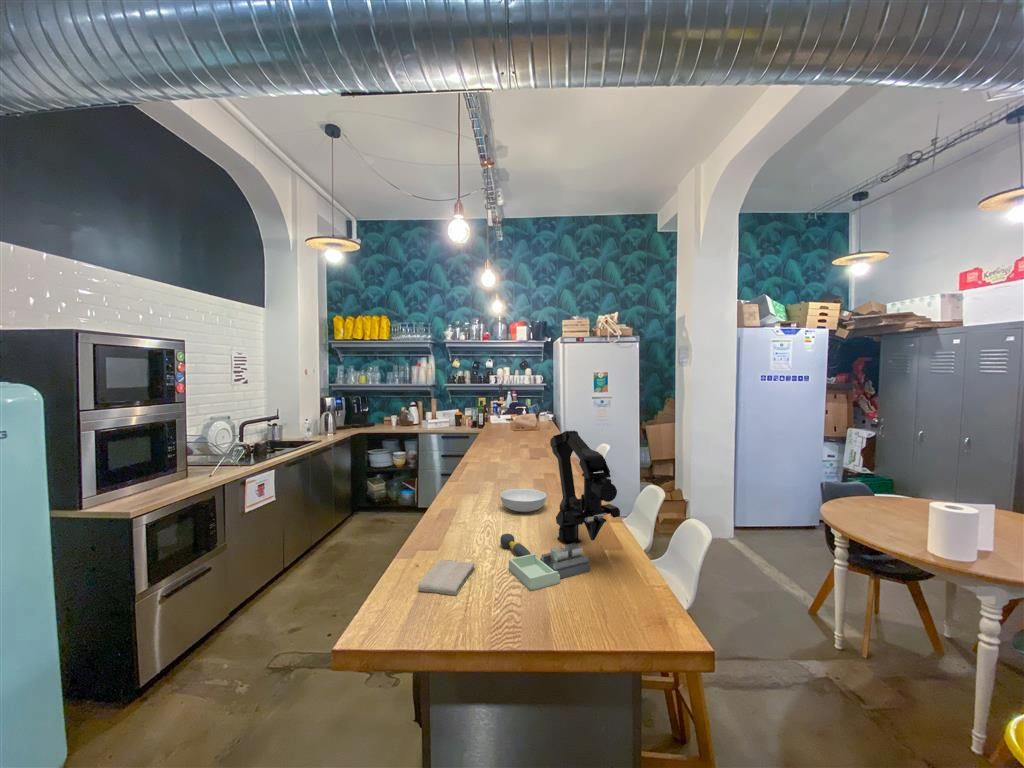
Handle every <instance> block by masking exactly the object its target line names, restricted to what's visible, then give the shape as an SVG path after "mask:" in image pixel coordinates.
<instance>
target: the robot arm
mask: <svg viewBox="0 0 1024 768" xmlns="http://www.w3.org/2000/svg"><path fill="white" fill-rule="evenodd" d="M550 447H551V450H552V453H553V455H554V456H555V457H556V459H557V461H558V462H557V464H558V471H559V478H560V479H559V480H560V486H561V493H562V499H561V501H560V504H559V511H558V513H557V515H556V516H555V521H556V524H557V525H558V526H559V528H558V537H557V540H559V541H560V542H561V543H564V544H565V545H568V544H573V543H576V544H578V543H581V542H582V539H580V538H579V535H580V534H579V533H580V532H579V530H580V529H579V525H580V526H582V525H583V524H584V525H585V527H586V530H587V533H588V536H589V538H590V540H591V541H595V540H596V539H597V536H598V534H599V532H600V530H601V529H602V527H603V526H604V525H605V523H606V522H607V521H608V520H607V519H606V518H605V515H610V517H612V518H614V519H615V518H619V517H621V511H620V510H621V509H620V508H619V507H617V506H615V505H613V504H610V503H609V502H612V501H614V500H615V499H616V498H617V495H618V490H617V487H616V486H615V484H613V483H612V479H611V474H610V472H611V470H610V468H609V466H608V464H607V462H606V458H605V457H604V456H603V454H602V453H601V452H599V451H597V450H593V449H591V448H590V446H588V444H587V443H586V442H585V441H584V440H583V439H582V437H581V436H580V435H579V433H578V431H577V430H565V431H562V432H561V433H558V434H556V435H555V434H554V435H553V436H552V437H551V438H550ZM573 453H575V455H576V457H578V459H579V467H580V468H581V471H582V473H581V477H583V494H581V495H580V498H578V497H577V496H576V488H575V481H574V475H573V474H574V473H573V467H572V459H571V456H572V455H573ZM602 502H606V503H607V504H602Z"/></svg>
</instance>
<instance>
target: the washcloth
mask: <svg viewBox="0 0 1024 768" xmlns="http://www.w3.org/2000/svg"><path fill="white" fill-rule="evenodd" d="M475 565H476V564H475V563H474V562H472V561H459V560H458V561H457V560H453V559H443V558H442V559H441V560H440V561H439V562H437V563H436V564H433V565H432V567H431V569H430V570H429V571H428V572H427V573H426V574H425V575H424V577H422V579H421V580H420V581H419V584H418V587H417V590H418V591H420V592H424V593H435V594H440V595H448V596H457V595H458V593H459V592H460V591H461V589H462V587H464V585H465V583H466V582H467V580H468V578H469V576H471V575H472V573H473V571H474V570H475Z"/></svg>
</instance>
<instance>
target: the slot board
mask: <svg viewBox="0 0 1024 768" xmlns="http://www.w3.org/2000/svg"><path fill="white" fill-rule="evenodd" d="M540 556H541V557H540V558H539V559H540V560H541V561H542V562H544V563H545V564H546V565H548V566H549V567H550V568H551V569H553V570H554V571H558V574H559V575H560V580H562V579H565V578H568V577H573V576H577V575H580V574H584V573H589V572H590V567H591V566H590V565H591V563H589V557H588V556H586V555H583V557H578V558H574V559H570V560H566V561H562V562H558V563H553V562H551V552H548V553H543V554H542V553H541V555H540Z"/></svg>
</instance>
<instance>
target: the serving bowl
mask: <svg viewBox="0 0 1024 768" xmlns="http://www.w3.org/2000/svg"><path fill="white" fill-rule="evenodd" d="M500 499H501V503H502V504H503V505H504V507H505V508H507V509H509V510H511V511H515V512H519V513H528V512H529V513H530V512H533V511H536V510H539V509H540V508H542V507H543V506H544V505H545V503H546V500H547V494H546V493H545V492H544V491H542V490H538V489H533V488H511V489H506V490H504V491H502V492H501V493H500Z"/></svg>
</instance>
